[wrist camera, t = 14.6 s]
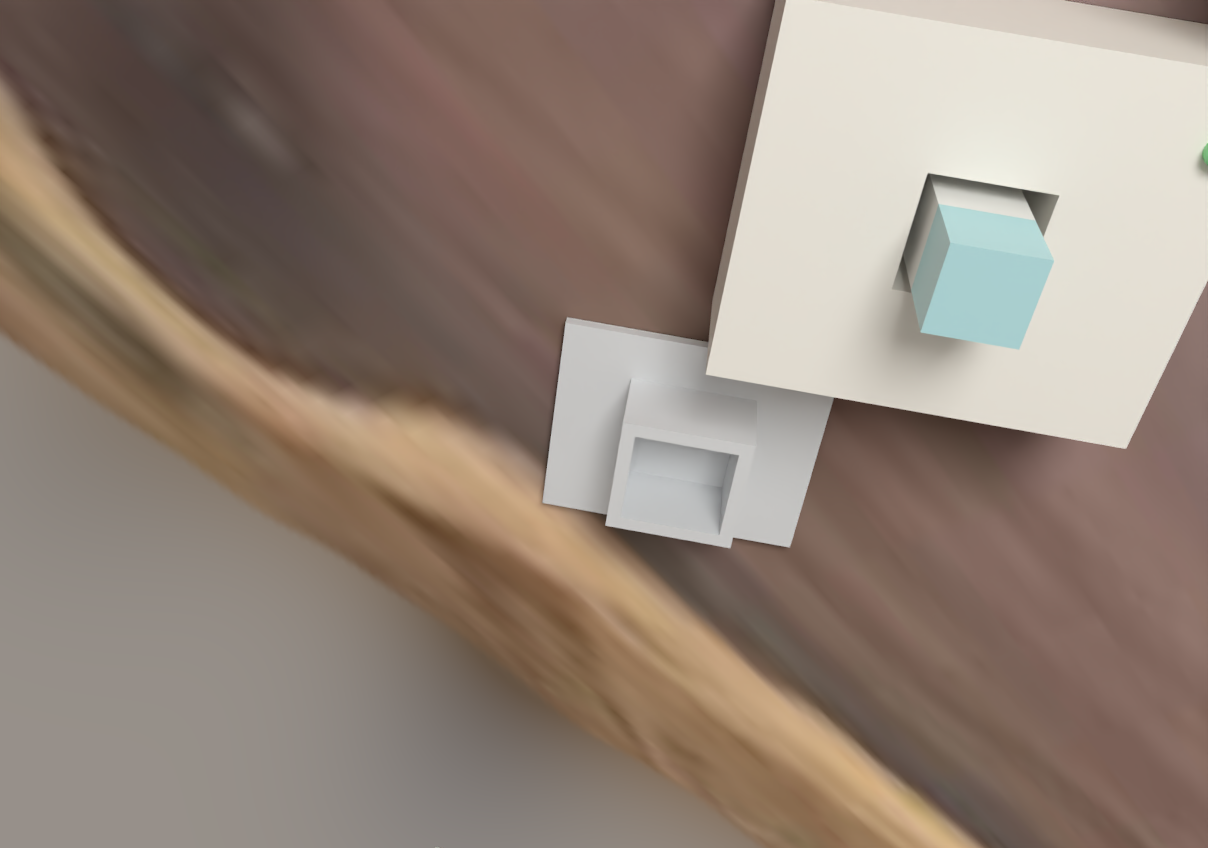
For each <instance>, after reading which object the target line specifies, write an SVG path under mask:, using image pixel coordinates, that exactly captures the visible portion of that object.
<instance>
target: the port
mask: <svg viewBox="0 0 1208 848" xmlns="http://www.w3.org/2000/svg"><path fill="white" fill-rule="evenodd" d="M928 173H931V174H937V175H943V176H949V177H954V178H960V179H966V180H972V181H978V182H984V183H989V184H995V185H1001V186H1007V187H1013V188H1019V189H1021V190H1022V192H1023V195H1024V197H1025V199H1026V201H1027V203H1028V205H1029V207H1030V210H1031V212H1032V214H1033V216H1034V218H1035V220H1036V222H1037V225H1038V227H1039V229H1040V231H1041V233H1042V235H1043V237H1044V240H1045V242H1046V244H1047V246H1048V248H1049V250H1050V253H1051V255H1052V257H1053V259H1054V263H1053V265H1052V268H1051V270H1050V273H1049V275H1048V278H1047V280H1046V283H1045V286H1044V288H1043V291H1042V293H1041V296H1040V298H1039V301H1038V303H1037V306H1036V308H1035V311H1034V313H1033V316H1032V318H1031V321H1030V324H1029V326H1028V329H1027V331H1026V334H1025V336H1024V339H1023V341H1022V344H1021V346H1020V349H1019V350H1018V349H1012V348H1007V347H1001V346H995V345H989V344H984V343H978V342H972V341H967V340H961V339H955V338H949V337H944V336H938V335H932V334H926V333H921V332H920V328H919V323H918V319H917V314H916V310H915V305H914V301H913V296H912V292H911V287H910V282H909V278H908V273H907V269H906V264H905V260H904V255H903V251H904V248H905V245H906V242H907V238H908V235H909V232H910V229H911V225H912V222H913V219H914V216H915V212H916V209H917V206H918V203H919V200H920V196H921V193H922V190H923V187H924V183H925V180H926V177H927V174H928ZM1207 281H1208V24H1202V23H1196V22H1190V21H1184V20H1178V19H1172V18H1166V17H1160V16H1155V15H1149V14H1143V13H1137V12H1131V11H1125V10H1119V9H1113V8H1107V7H1101V6H1095V5H1089V4H1083V3H1077V2H1071V1H1065V0H775V5H774V10H773V14H772V19H771V24H770V29H769V33H768V38H767V43H766V48H765V52H764V57H763V62H762V67H761V71H760V76H759V81H758V86H757V90H756V95H755V100H754V105H753V110H752V114H751V119H750V124H749V129H748V133H747V138H746V143H745V148H744V152H743V157H742V162H741V167H740V171H739V176H738V181H737V186H736V190H735V195H734V200H733V205H732V209H731V214H730V219H729V224H728V228H727V233H726V238H725V243H724V248H723V252H722V257H721V262H720V267H719V271H718V276H717V281H716V286H715V290H714V295H713V300H712V310H711V320H710V331H709V342H708V353H707V364H706V375H711V376H717V377H722V378H728V379H734V380H739V381H745V382H751V383H756V384H762V385H768V386H773V387H779V388H785V389H790V390H796V391H801V392H807V393H813V394H818V395H824V396H830V397H835V398H841V399H847V400H852V401H858V402H864V403H869V404H875V405H881V406H886V407H892V408H898V409H903V410H909V411H915V412H920V413H926V414H932V415H937V416H943V417H949V418H954V419H960V420H966V421H971V422H977V423H983V424H988V425H994V426H1000V427H1005V428H1011V429H1017V430H1022V431H1028V432H1033V433H1039V434H1045V435H1050V436H1056V437H1062V438H1067V439H1073V440H1079V441H1084V442H1090V443H1096V444H1101V445H1107V446H1113V447H1118V448H1124V449H1126V448H1127V446H1128V443H1129V441H1130V439H1131V437H1132V435H1133V433H1134V431H1135V429H1136V427H1137V425H1138V423H1139V421H1140V419H1141V417H1142V415H1143V413H1144V410H1145V408H1146V406H1147V404H1148V402H1149V400H1150V398H1151V396H1152V394H1153V392H1154V390H1155V388H1156V386H1157V384H1158V382H1159V380H1160V378H1161V375H1162V373H1163V371H1164V369H1165V367H1166V365H1167V363H1168V361H1169V359H1170V357H1171V355H1172V353H1173V351H1174V349H1175V347H1176V345H1177V342H1178V340H1179V338H1180V336H1181V334H1182V332H1183V330H1184V328H1185V326H1186V324H1187V322H1188V320H1189V318H1190V316H1191V314H1192V312H1193V309H1194V307H1195V305H1196V303H1197V301H1198V299H1199V297H1200V295H1201V293H1202V291H1203V289H1204V287H1205V285H1206V283H1207Z"/></svg>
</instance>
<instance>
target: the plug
mask: <svg viewBox="0 0 1208 848" xmlns="http://www.w3.org/2000/svg"><path fill="white" fill-rule="evenodd" d="M903 255H904V260H905V264H906V269H907V273H908V278H909V282H910V287H911V292H912V296H913V301H914V305H915V310H916V314H917V319H918V323H919V328H920V332H921V333H926V334H932V335H938V336H944V337H949V338H955V339H961V340H967V341H972V342H978V343H984V344H989V345H995V346H1001V347H1007V348H1012V349H1018V350H1019V349H1020V346H1021V344H1022V341H1023V339H1024V336H1025V334H1026V331H1027V329H1028V326H1029V324H1030V321H1031V318H1032V316H1033V313H1034V311H1035V308H1036V306H1037V303H1038V301H1039V298H1040V296H1041V293H1042V291H1043V288H1044V286H1045V283H1046V280H1047V278H1048V275H1049V273H1050V270H1051V268H1052V265H1053V263H1054V259H1053V257H1052V255H1051V253H1050V250H1049V248H1048V246H1047V244H1046V242H1045V240H1044V237H1043V235H1042V233H1041V231H1040V229H1039V227H1038V225H1037V222H1036V220H1035V218H1034V216H1033V214H1032V212H1031V210H1030V207H1029V205H1028V203H1027V201H1026V199H1025V197H1024V195H1023V192H1022V190H1021V189H1019V188H1013V187H1007V186H1001V185H995V184H989V183H984V182H978V181H972V180H966V179H960V178H954V177H949V176H943V175H937V174H931V173H928V174H927V177H926V180H925V183H924V187H923V190H922V193H921V196H920V200H919V203H918V206H917V209H916V212H915V216H914V219H913V222H912V225H911V229H910V232H909V235H908V238H907V242H906V245H905V248H904V251H903Z"/></svg>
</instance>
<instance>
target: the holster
mask: <svg viewBox="0 0 1208 848" xmlns="http://www.w3.org/2000/svg"><path fill="white" fill-rule="evenodd" d="M707 353H708V342H705V341H699V340H694V339H688V338H682V337H677V336H671V335H665V334H660V333H654V332H648V331H643V330H637V329H631V328H626V327H620V326H614V325H608V324H603V323H597V322H591V321H586V320H580V319H574V318H569V317H567V320H566V323H565V331H564V339H563V347H562V355H561V362H560V370H559V378H558V386H557V393H556V401H555V409H554V417H553V424H552V432H551V440H550V448H549V456H548V463H547V471H546V479H545V487H544V494H543V502H542V503H546V504H551V505H557V506H562V507H568V508H573V509H579V510H585V511H590V512H596V513H601V514H607V519H606V525H605V526H611V527H616V528H622V529H627V530H633V531H638V532H644V533H649V534H655V535H660V536H666V537H671V538H677V539H683V540H688V541H694V542H699V543H705V544H710V545H716V546H721V547H727V548H730V547H731V543H732V539H733V537H734V538H740V539H745V540H751V541H756V542H762V543H768V544H773V545H779V546H784V547H790V545H791V542H792V538H793V535H794V531H795V528H796V525H797V521H798V518H799V515H800V511H801V508H802V504H803V501H804V498H805V494H806V491H807V487H808V484H809V481H810V477H811V474H812V470H813V467H814V464H815V460H816V457H817V454H818V450H819V447H820V443H821V440H822V437H823V433H824V430H825V426H826V423H827V420H828V416H829V413H830V410H831V406H832V403H833V399H834V397H830V396H824V395H818V394H813V393H807V392H801V391H796V390H790V389H785V388H779V387H773V386H768V385H762V384H756V383H751V382H745V381H739V380H734V379H728V378H722V377H717V376H711V375H706V364H707Z"/></svg>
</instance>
